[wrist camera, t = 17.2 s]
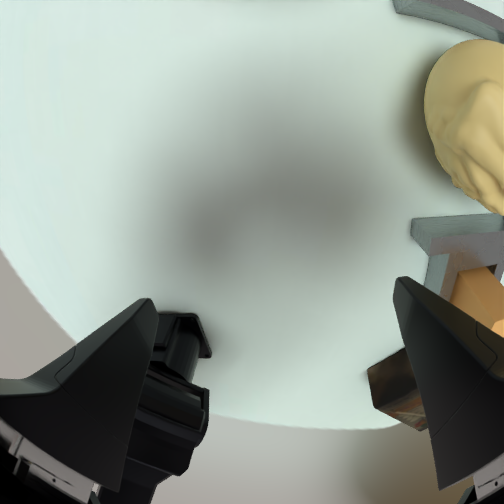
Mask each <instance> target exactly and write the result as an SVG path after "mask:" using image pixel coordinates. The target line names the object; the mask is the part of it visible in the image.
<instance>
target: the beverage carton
mask: <svg viewBox="0 0 504 504" xmlns="http://www.w3.org/2000/svg"><path fill="white" fill-rule="evenodd" d="M368 379H369V385H370V389H371V396H372V401H373V406H374V408H375V409H378V410H379V411H381V412H383V413H385V414H387V415H389V416H391V417H393V418H395V419H397V420H399V421H401V422H403V423H405V424H407V425H408V426H410V427H413V428H415V429H416V430H418V431H422V430H425V429H427V428H428V425H427V420H426V416H425V412H424V408H423V404H422V400H421V397H420V393H419V389H418V386H417V382H416V379H415V376H414V372H413V369H412V366H411V363H410V360H409V357H408V354H407V351H406V348H404V349H403V350H401V351H399V352H398V353H396V354H394V355H393V356H390V357H388V358H387V359H385V360H384V361H382V362H380V363H378V364H377V365H375V366H372V367H370V368H369V369H368Z"/></svg>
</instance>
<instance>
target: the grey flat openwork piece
mask: <svg viewBox="0 0 504 504" xmlns="http://www.w3.org/2000/svg"><path fill="white" fill-rule="evenodd" d="M393 3H394V7H395V10H396V13H401V14H406V15H411V16H416V17H420V18H424V19H428V20H432V21H436V22H439V23H443V24H446V25H450V26H453V27H456V28H459V29H462V30H465V31H467V32H470V33H473V34H475V35H478V36H480V37H483V38H485V39H488V40H491V41H495V42H498V43H501V44H504V19H502V18H500V17H498V16H496V15H494V14H492V13H490V12H488V11H486V10H484V9H482V8H480V7H478V6H476V5H474V4H471V3H469V2H467V1H464V0H393ZM411 236H412V237H413V238H414V240H415V241H416V242H417V243H418V244H419V245H420V247H421V248H422V249H423V250H424V251H425V253H426V254H427V255H428V256H430V260H429V265H428V270H427V275H426V279H425V284H424V287H426V288H428V289H429V290H431V291H432V292H434V293H436V294H437V295H439V296H440V297H442V298H444V299H445V300H447V301H448V302H449V300H450V297H451V294H452V291H453V287H454V284H455V280H456V277H457V273H458V271H462V270H468V269H474V268H479V267H484V266H486V267H487V268H488V269H489V271H490V272H491V273H492V274H493V275H494V276H495V277H496V278H497V280H498V281H499V282H500V280H501V277H502V274H503V271H504V216H502V215H500V214H499V213H495V214H477V215H461V216H446V217H431V218H417V219H412V228H411Z"/></svg>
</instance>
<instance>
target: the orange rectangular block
mask: <svg viewBox="0 0 504 504" xmlns="http://www.w3.org/2000/svg"><path fill="white" fill-rule="evenodd" d="M449 302H450V303H451V304H453V305H455V306H456V307H458V308H459V309H461V310H462V311H464V312H465V313H467V314H468V315H470V316H471V317H473V318H474V319H475V320H477V321H479V322H480V323H482V324H483V325H484V326H486V327H488V328H489V329H491V330H492V331H494V332H495V333H497V334H498V335H500V336H502V337H503V338H504V287H503V285H502V284H501V283H500V282H499V281H498V280H497V278H496V277H495V276H494V275H493V274H492V273H491V272H490V271H489V269H488V268H487V267H486V266H484V267H479V268H474V269H468V270H462V271H458V273H457V277H456V280H455V284H454V287H453V291H452V294H451V297H450V300H449Z"/></svg>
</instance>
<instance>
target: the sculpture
mask: <svg viewBox="0 0 504 504" xmlns="http://www.w3.org/2000/svg"><path fill="white" fill-rule="evenodd" d="M424 113H425V120H426V125H427V129H428V132H429V135H430V138H431V140H432V142H433V145H434V147H435V155H436V158H437V159H438V161H439V162H440V164H441V166H442V167H443V169H444V170H445V171H446V172H447V173H448V174H449V175H450V176H451V177H452V183H453V184H454V186H456V187H457V188H462V189H463V192H464V193H465V195H467V196H468V197H470V198H472V199H476V200H477V201H478V202H480V203H481V204H482V205H483V206H484V207H485V208H486V209H488V210H489V211H491V212H493V213H499V214H500V215H502V216H504V44H501V43H498V42H495V41H491V40H485V39H473V40H467V41H464V42H461V43H459V44H456V45H455V46H453V47H451V48H450V49H449V50H447V51H446V52H445V53H444V54H443V55H442V56H441V57H440V58H439V59H438V61H437V62H436V63H435V65H434V67H433V68H432V70H431V72H430V75H429V77H428V80H427V84H426V89H425V96H424Z"/></svg>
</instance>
